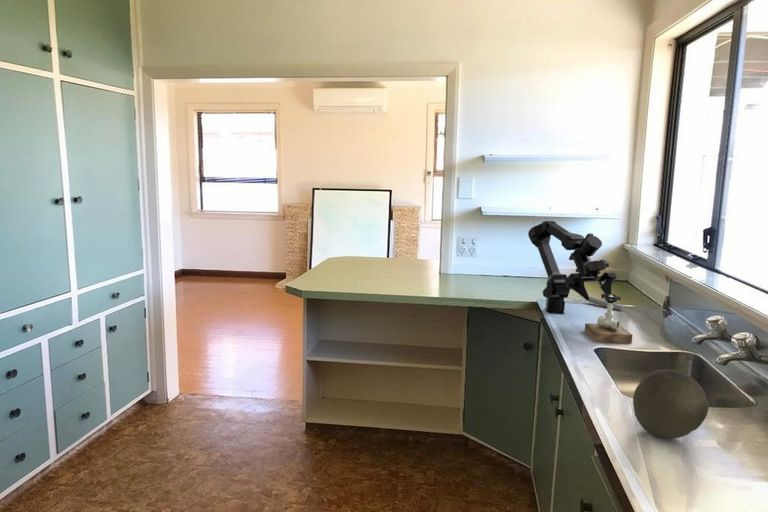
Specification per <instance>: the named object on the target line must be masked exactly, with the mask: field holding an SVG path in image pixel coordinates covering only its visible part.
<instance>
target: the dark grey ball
mask: <svg viewBox="0 0 768 512" xmlns="http://www.w3.org/2000/svg"><path fill="white" fill-rule="evenodd" d="M632 405H633V411H634V416H635V418H636V421H637V422H638V423H639V425H640V426H641V428H642V429H643V430H645V432H646V433H649V434H650V435H652V436H654V437H657V438H659V439H660V438H662V439H666V440H667V439H668V440H669V439H670V440H671V439H679V438H683V437H685V436H687V435H689V434H690V433H692V432H694V431H696V430H697V429H698V428H700V426H701V425H702V424H703V422H704V421H705V419H706V417H707V416H708V413H709V407H710V403H709V401H708V398H707V395H706V393H705V390H704V389H703V387H702V386H701V385H700V384H699V383H698V382H697V380H696V379H694V378H693V377H691V376H690V375H689V374H687V373H685V372H684V371H681V370H677V369H669V368H668V369H667V368H666V369H658V370H654V371H652V372H650V373H649V374H646V375H645V376H644V377H643V378H642V379H641V381H640V382H639V383H638V385H637V386H636V388H635V390H634V392H633V396H632Z"/></svg>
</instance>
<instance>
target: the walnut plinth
mask: <svg viewBox="0 0 768 512" xmlns="http://www.w3.org/2000/svg"><path fill="white" fill-rule="evenodd" d="M584 332H585V334H587V335H588V336H589V337H590V339H592V340H593V341H594V342H595V343H613V344H615V343H617V344H632V343H633V334H632V333H631V332H629V331H628V330H627V329H625V328H624V327H623V326H621V325H620V326H619V329H618V330H614V329H606V328H604V327H600V326H598V325H597V323H584Z"/></svg>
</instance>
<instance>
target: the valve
mask: <svg viewBox="0 0 768 512" xmlns="http://www.w3.org/2000/svg"><path fill="white" fill-rule="evenodd" d="M621 297H622V296H621V295H617V294H616V293H613V294H612V293H611V294H608V293H606V294H605V293H601V297H600V299H602V300H605V301H606V302H608V303H609V305H607V307H606V311H605V312H604V316H602V315H599V316H598V318H597V322H596V324H597V325H598V326H600V327H604V328H606V329H614V330H618V329H619V326H621V322H620V319H617V318H614V317H615V313H614V312H613V310H614V309H613V306H612V303H617V302H618V301H621V299H622V298H621Z"/></svg>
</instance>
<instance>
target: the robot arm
mask: <svg viewBox="0 0 768 512" xmlns="http://www.w3.org/2000/svg"><path fill="white" fill-rule="evenodd" d="M527 233H528V234H527V235H528V237H529V238H528V239H529V240H530V242H531V244H532V245H534V246H535V248H537V249H538V253H539V255H540V258H541V261H542V264H543V266H544V269H545V272H546V275H547V280H546V287H545V288H544V289H543V291H542V295H543V297H544V298H546V299H545V300H546V301H545V302H546V303H545V307H544V310H545V312H546V313H548V314H561V315H562V314H565V305H566V304H565V303H566V301H565V299H567V298H568V296H569V295H570V291H571V289H572V291H574V292H576V294H577V295H579V296H580V297H581V296H582V299H585V300H587V301H586V302H588V300H589V297H590V295H589V294H588V292H587V289H586V287H585V283H596V282H598V284H599V285H600V289H601V290H602V292H603V294H606V293H608V294H611V295H612V284H613V283H614V281H616V279H618V276H617V274H616V273H615V271H609V272H608V271H606V269H607V268H609V267H610V263H609V261H608V259H607V258H602V259H599V260H593V261H592V260H591V257H592V256H594V255H595V254H596V253H597V251H599V250H600V248H601V247H602V245H603V241H602V240H601V239H600V238H599V237H597V236H595V235H594V234H593V233H592V232H591V233H587V234H586V235H585V237H584V236H583V235H581V234H579V233H573V232H570V231H569V230H567V229H565V228H564V227H562V226H561V225H560V224H558V223H557V222H556V221H554V220H545V221H542V222H541V223H539V224H537V225H535V226H533V227H531V228H530V229H529V230H528V232H527ZM551 236H552V237H554V238H556V239H557V240H559V241H560V242H561V246H562V247H563V248H564V250H566V251H573V252H570V255H569V257H568V260H569V261H573V263H574V265H575V267H576V269H575V273H574V272H573V273H571V272H570V274H569V275H568V276H567V274H566V273H561V272H560V269H559V267H558V264H557V261H556V259H555V256H554V253H553V251H552V247H551V245H550V242H551V238H552V237H551ZM603 270H605V271H606V272H603V274H602V275H599V274H601V273H602V272H601V271H603Z"/></svg>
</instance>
